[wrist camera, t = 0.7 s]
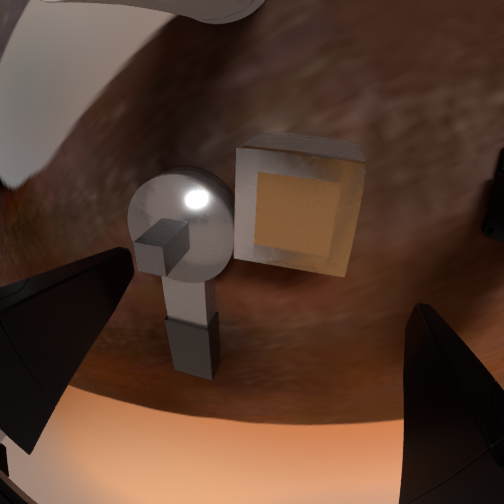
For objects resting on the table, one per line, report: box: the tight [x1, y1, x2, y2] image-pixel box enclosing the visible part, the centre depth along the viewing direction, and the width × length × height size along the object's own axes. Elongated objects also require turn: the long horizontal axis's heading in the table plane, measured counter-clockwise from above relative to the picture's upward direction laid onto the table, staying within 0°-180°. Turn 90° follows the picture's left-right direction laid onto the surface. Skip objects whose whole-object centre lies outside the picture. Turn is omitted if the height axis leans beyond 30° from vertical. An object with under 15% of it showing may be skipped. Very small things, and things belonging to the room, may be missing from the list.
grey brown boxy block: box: [234, 131, 367, 277], centre depth 16 cm, size 6×6×6 cm
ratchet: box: [128, 166, 235, 380], centre depth 23 cm, size 20×8×6 cm, turn 177°
